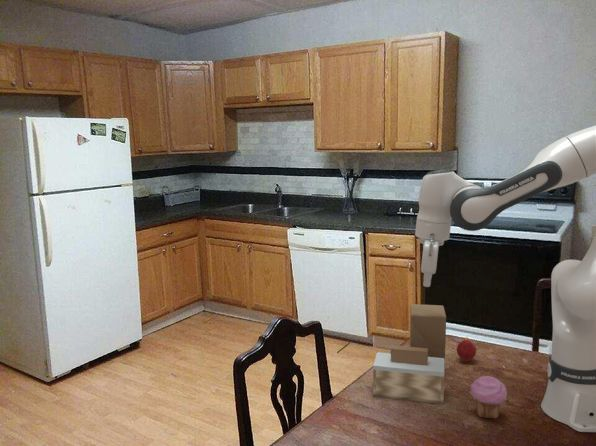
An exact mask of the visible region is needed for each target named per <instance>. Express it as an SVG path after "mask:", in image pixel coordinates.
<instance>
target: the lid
mask: <svg viewBox="0 0 596 446" xmlns="http://www.w3.org/2000/svg"><path fill="white" fill-rule="evenodd" d="M375 355H376V356H375V358H374V362H373V364H372V371H373V370H381V371H391V372H402V373H412V374H422V375H432V376H442V377H444V358H436V357H428V348H418V347H410V346H406V345H405V346H404V345H394V344H392V345H391V346H390V352H379V351H378V352H376V354H375Z"/></svg>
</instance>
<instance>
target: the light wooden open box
mask: <svg viewBox="0 0 596 446" xmlns="http://www.w3.org/2000/svg"><path fill="white" fill-rule="evenodd" d="M372 372H373V373H372V381H373V382H372V385H373V386H372V390H373V391H372V392H373V393H372V395H373V396H372V397H375V398H386V399H393V400H403V401H411V402H421V403H429V404H438V405H444V403H445V402H444V400H445V398H444V397H445V393H444V392H445V378H444V377H442V376H432V375H422V374H412V373H402V372H391V371H381V370H373V369H372Z"/></svg>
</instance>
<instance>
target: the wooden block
mask: <svg viewBox="0 0 596 446" xmlns="http://www.w3.org/2000/svg"><path fill="white" fill-rule="evenodd" d="M409 310H410V312H409V313H410V317H409V319H410V322H409V326H410V327H409V329H410V330H409V347H418V348H428V357H436V358H444V379H446V378H445V377H446V376H445V375H446V374H445V373H446V344H447V343H446V341H447V340H446V336H447V335H446V334H447V314H446V311H445V307H444V305H438V304H419V303H418V304H416V303H415V304H414V303H411V304H410V309H409Z"/></svg>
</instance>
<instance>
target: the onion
mask: <svg viewBox="0 0 596 446" xmlns="http://www.w3.org/2000/svg"><path fill="white" fill-rule="evenodd" d="M456 353H457V355H458V357H459V358H460V359H461V360H462V361H463V362H469V361H471V360H473V359H474V358H475V357H476V354H477V347H476V346H475V344H474V343H473V342H472V341H471V340H470V339H469V337H467V336H466V337H465V338H464V340H462V341H460V342H459V343H458V344H457V347H456Z"/></svg>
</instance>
